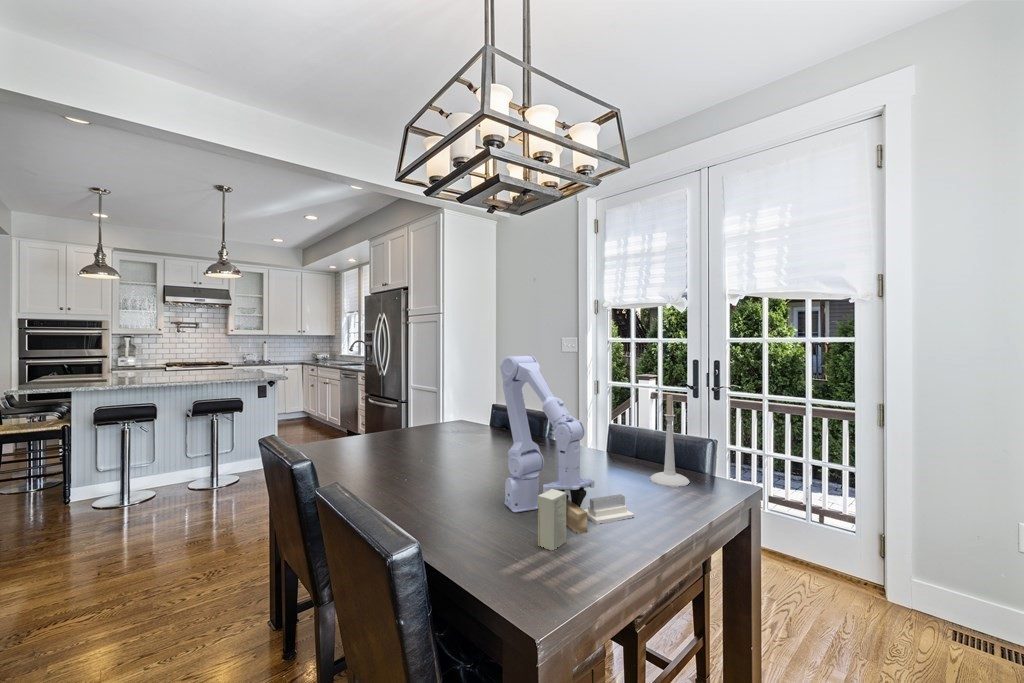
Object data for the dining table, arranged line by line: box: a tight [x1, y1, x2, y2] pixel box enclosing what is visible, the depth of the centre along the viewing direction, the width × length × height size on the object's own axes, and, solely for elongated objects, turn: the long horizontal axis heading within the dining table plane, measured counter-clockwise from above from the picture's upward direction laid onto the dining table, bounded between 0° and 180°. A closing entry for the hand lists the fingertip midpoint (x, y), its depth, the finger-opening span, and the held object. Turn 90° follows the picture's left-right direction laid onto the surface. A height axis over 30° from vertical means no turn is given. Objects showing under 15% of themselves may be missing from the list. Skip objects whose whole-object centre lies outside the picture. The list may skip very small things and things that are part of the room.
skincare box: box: [537, 489, 567, 551], centre depth 107 cm, size 6×4×12 cm
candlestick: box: [649, 394, 690, 488], centre depth 155 cm, size 13×13×30 cm
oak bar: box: [566, 498, 588, 534], centre depth 120 cm, size 3×14×5 cm, turn 21°
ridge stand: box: [583, 493, 635, 525], centre depth 125 cm, size 12×8×5 cm, turn 112°
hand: (569, 516), depth 120 cm, fingers closed on oak bar, 3 cm apart
